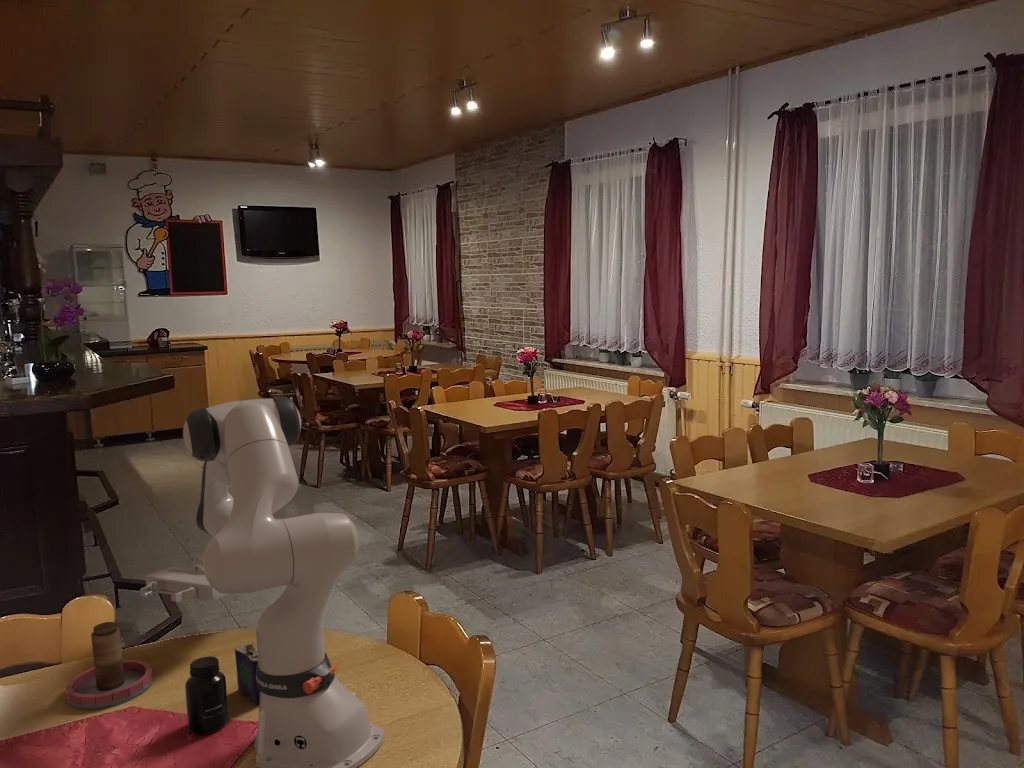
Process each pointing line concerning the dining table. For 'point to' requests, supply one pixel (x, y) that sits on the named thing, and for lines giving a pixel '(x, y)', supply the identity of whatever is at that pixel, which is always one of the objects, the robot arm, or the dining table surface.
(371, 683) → the dining table surface
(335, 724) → the robot arm
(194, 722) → the supplement bottle
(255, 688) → the flask
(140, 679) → the round tray
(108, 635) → the pepper mill
